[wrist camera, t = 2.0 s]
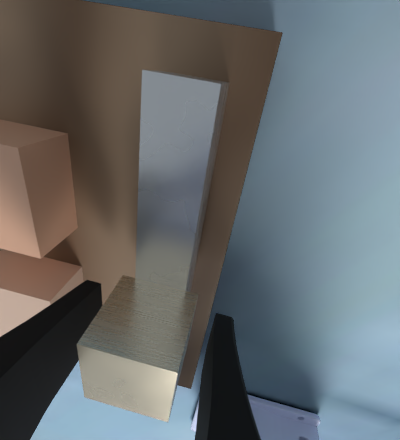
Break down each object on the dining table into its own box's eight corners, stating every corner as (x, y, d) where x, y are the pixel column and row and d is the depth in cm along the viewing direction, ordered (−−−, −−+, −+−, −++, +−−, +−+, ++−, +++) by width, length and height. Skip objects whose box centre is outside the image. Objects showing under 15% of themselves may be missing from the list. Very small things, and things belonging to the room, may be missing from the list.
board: (276, 43, 10) (282, 32, 7) (197, 354, 20) (191, 388, 17) (-65, -14, 11) (-144, -37, 9) (25, 307, 21) (-1, 333, 19)
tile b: (81, 266, 14) (49, 301, 12) (87, 321, 16) (61, 359, 14) (5, 247, 14) (-39, 277, 12) (22, 303, 16) (-14, 337, 14)
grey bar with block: (244, 85, 8) (232, 93, 4) (182, 373, 17) (154, 489, 12) (156, 69, 9) (33, 57, 4) (139, 361, 17) (95, 470, 12)
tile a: (67, 133, 10) (17, 147, 8) (77, 227, 12) (40, 258, 10) (-34, 112, 11) (-107, 121, 8) (-6, 207, 13) (-58, 233, 11)
